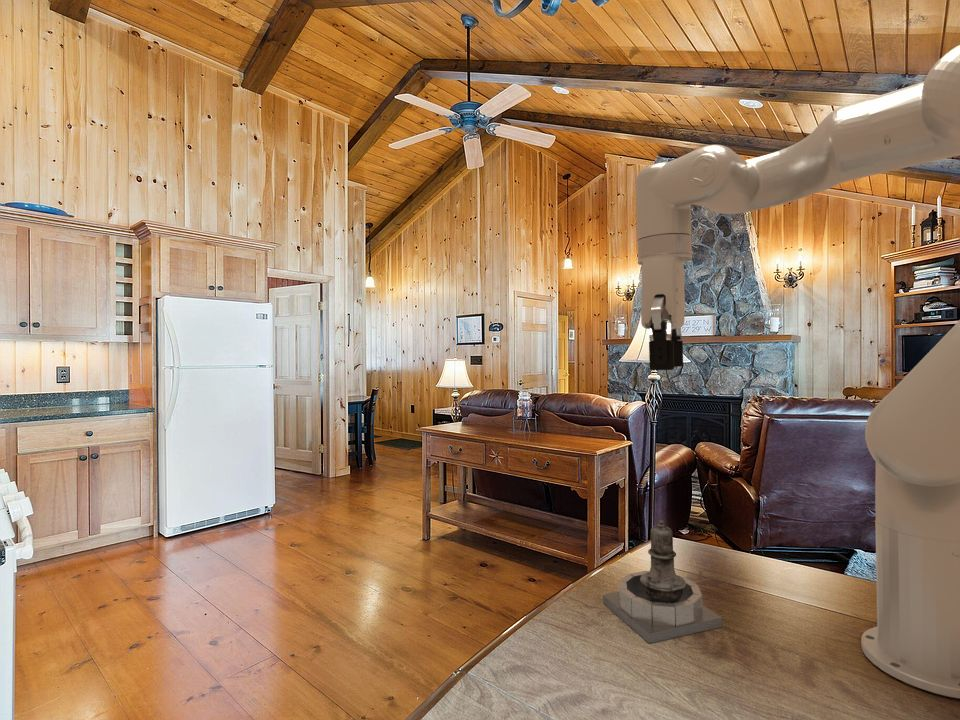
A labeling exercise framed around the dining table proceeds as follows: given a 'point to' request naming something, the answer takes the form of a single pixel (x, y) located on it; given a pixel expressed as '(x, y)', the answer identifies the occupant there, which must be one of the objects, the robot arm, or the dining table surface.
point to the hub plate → (662, 630)
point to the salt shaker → (662, 568)
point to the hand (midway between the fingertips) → (667, 368)
